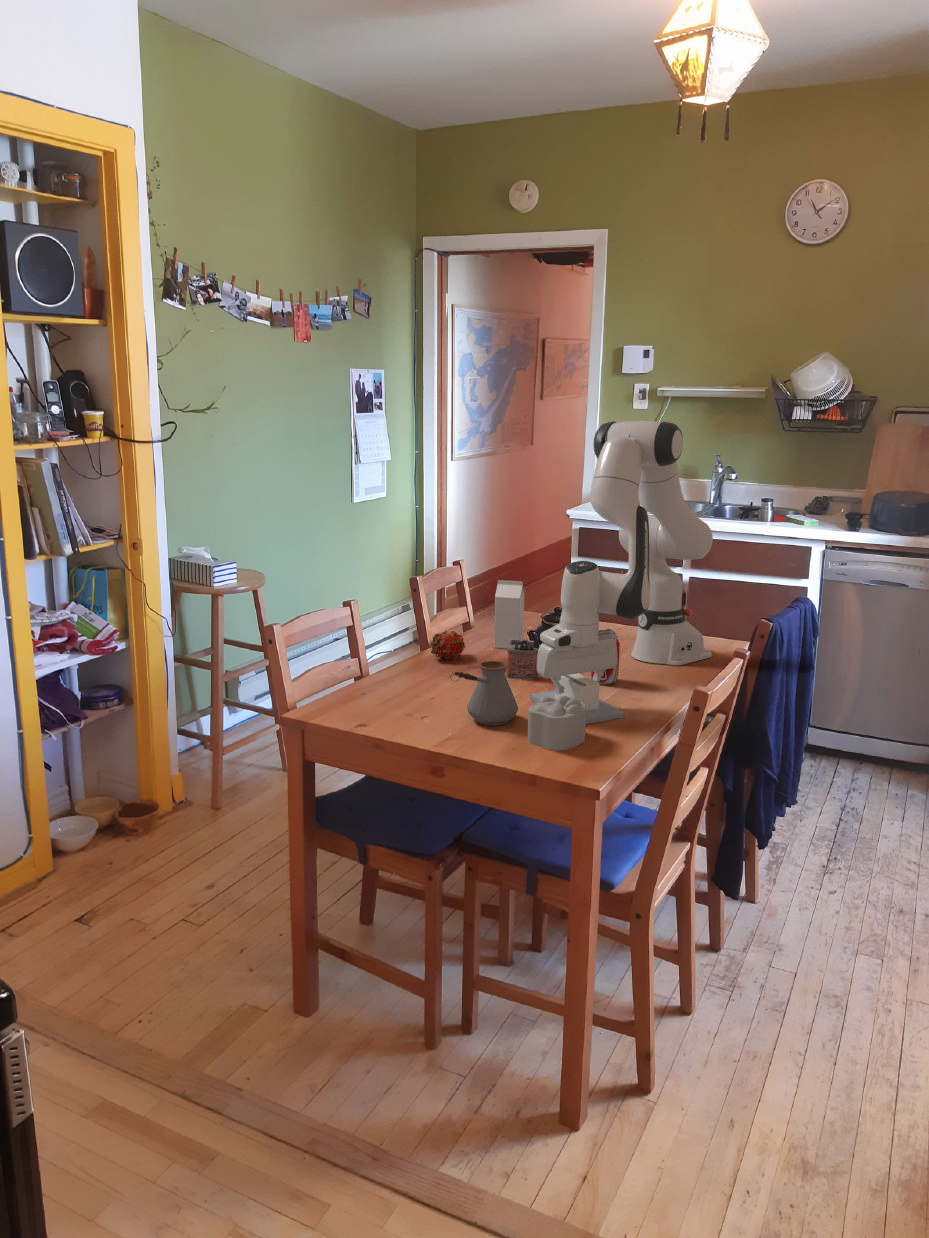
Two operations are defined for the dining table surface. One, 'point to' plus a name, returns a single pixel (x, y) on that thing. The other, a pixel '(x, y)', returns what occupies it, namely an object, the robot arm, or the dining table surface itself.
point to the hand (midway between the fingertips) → (576, 690)
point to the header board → (592, 716)
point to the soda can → (610, 671)
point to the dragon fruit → (447, 645)
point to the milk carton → (508, 613)
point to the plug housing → (580, 690)
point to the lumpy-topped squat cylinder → (557, 723)
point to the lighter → (522, 660)
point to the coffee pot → (491, 695)
